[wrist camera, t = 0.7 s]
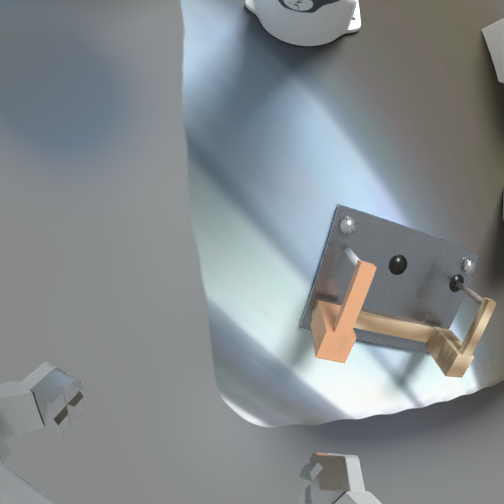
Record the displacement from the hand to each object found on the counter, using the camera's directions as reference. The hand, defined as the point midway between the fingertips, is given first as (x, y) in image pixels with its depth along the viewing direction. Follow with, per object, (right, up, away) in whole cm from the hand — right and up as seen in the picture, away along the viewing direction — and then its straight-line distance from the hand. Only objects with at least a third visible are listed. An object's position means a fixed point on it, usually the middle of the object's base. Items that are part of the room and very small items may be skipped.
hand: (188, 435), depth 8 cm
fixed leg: (+25, -2, +35) cm, 43 cm away
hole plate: (+26, 0, +35) cm, 44 cm away
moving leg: (+15, +1, +34) cm, 37 cm away
